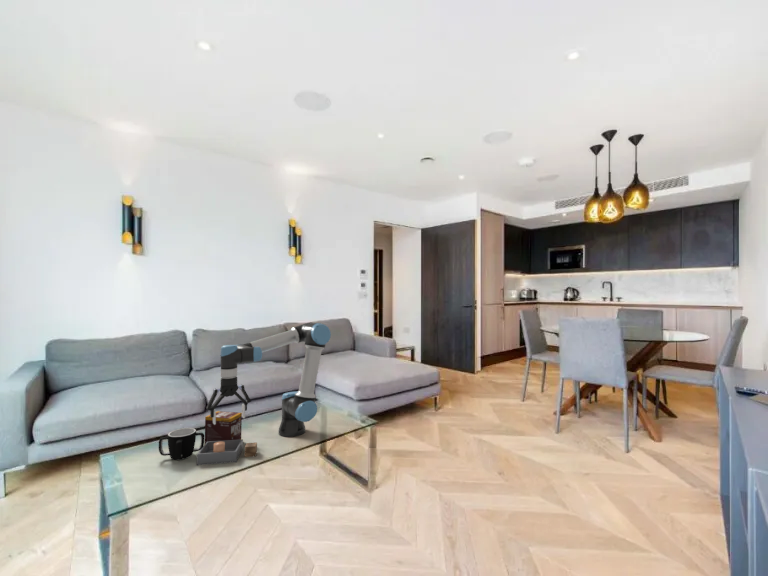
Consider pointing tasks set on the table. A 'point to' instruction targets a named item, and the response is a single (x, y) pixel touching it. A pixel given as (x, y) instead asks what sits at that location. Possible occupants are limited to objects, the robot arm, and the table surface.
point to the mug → (181, 443)
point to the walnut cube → (250, 449)
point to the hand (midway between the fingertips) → (229, 420)
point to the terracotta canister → (219, 447)
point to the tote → (229, 456)
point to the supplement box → (223, 426)
